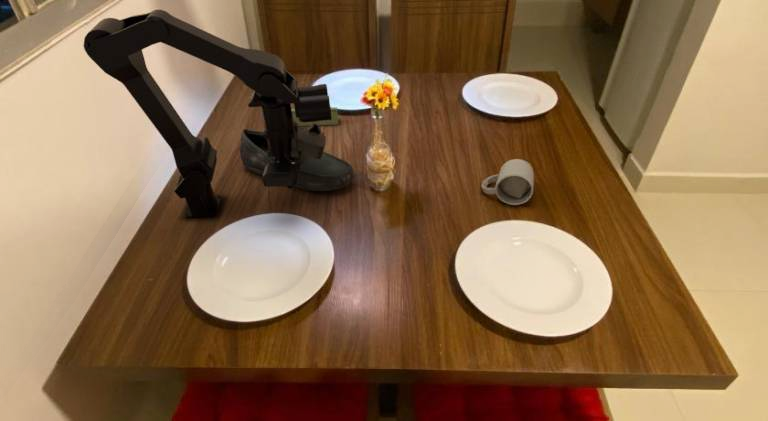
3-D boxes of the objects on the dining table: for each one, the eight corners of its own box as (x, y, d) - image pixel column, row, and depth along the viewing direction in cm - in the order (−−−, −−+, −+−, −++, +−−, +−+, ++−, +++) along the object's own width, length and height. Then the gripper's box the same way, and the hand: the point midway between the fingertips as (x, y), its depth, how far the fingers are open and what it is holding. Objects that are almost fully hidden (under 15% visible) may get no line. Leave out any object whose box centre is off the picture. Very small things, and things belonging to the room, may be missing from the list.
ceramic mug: (531, 185, 99) (537, 156, 95) (529, 208, 94) (536, 178, 89) (483, 178, 102) (487, 150, 97) (478, 200, 96) (482, 171, 91)
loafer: (345, 201, 96) (341, 163, 90) (231, 178, 104) (220, 140, 97) (362, 175, 104) (360, 137, 97) (254, 154, 111) (245, 118, 104)
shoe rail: (337, 124, 122) (336, 109, 119) (272, 127, 121) (269, 112, 118) (338, 120, 124) (336, 105, 121) (273, 122, 123) (270, 107, 120)
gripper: (317, 147, 79) (326, 213, 89) (323, 99, 93) (330, 161, 103) (254, 150, 78) (270, 216, 88) (270, 101, 92) (282, 163, 103)
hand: (291, 187), depth 96 cm, fingers closed
